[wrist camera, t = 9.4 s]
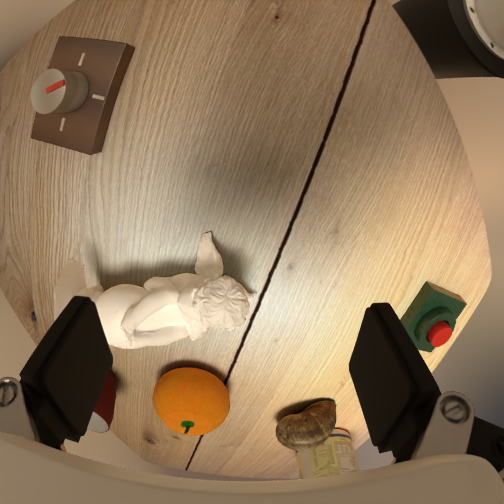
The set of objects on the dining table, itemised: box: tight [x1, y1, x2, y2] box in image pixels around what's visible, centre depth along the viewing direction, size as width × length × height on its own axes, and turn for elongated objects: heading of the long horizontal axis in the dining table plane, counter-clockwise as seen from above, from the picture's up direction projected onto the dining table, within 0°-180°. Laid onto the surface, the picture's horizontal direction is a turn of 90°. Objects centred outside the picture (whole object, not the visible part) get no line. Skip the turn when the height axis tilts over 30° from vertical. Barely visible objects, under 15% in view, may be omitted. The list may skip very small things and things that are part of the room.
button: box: [427, 320, 452, 347], centre depth 35 cm, size 4×4×2 cm
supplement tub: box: [296, 429, 359, 479], centre depth 46 cm, size 12×12×17 cm
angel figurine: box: [54, 232, 257, 352], centre depth 30 cm, size 14×20×12 cm
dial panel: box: [31, 36, 135, 155], centre depth 24 cm, size 12×9×3 cm
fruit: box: [153, 367, 230, 436], centre depth 39 cm, size 12×12×10 cm
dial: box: [31, 68, 89, 114], centre depth 21 cm, size 4×4×5 cm
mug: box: [87, 371, 116, 433], centre depth 38 cm, size 11×8×10 cm
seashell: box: [276, 401, 336, 451], centre depth 44 cm, size 11×9×8 cm
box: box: [400, 281, 467, 352], centre depth 37 cm, size 10×9×4 cm
